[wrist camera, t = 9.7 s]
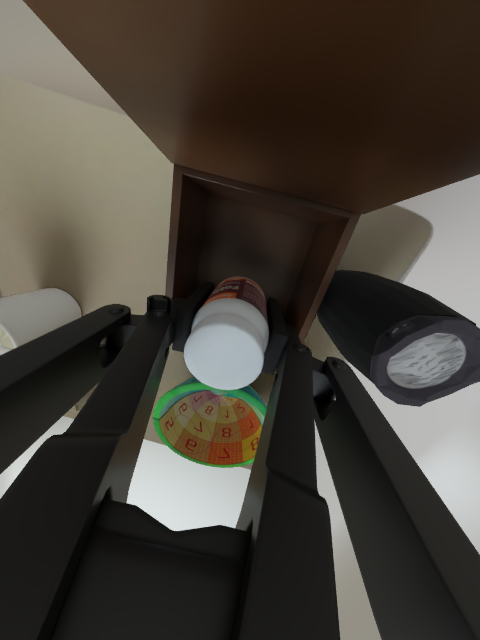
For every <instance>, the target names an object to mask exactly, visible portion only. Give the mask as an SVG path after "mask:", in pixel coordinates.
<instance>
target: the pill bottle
mask: <svg viewBox="0 0 480 640" xmlns="http://www.w3.org/2000/svg"><path fill="white" fill-rule="evenodd" d="M268 341H269V327H268V319H267V309H266V300H265V296H264V293H263V291H262V289H261V288H260V287H259V286H258V285H257V284H256V283H255V282H254V281H252V280H250V279H248V278H245V277H231V278H228V279H226V280H224V281H222V282H221V283H220V284H219V285H218V286H217V287H216V289H215V290H214V291H213V292H212V293H211V295H210V296H209V297H208V299H207V300H206V301H205V303H204V304H203V305H202V306H201V308H200V309H199V310H198V311H197V313H196V315H195V317H194V320H193V323H192V327H191V334H190V336H189V337H188V339H187V341H186V343H185V347H184V359H185V363H186V365H187V367H188V369H189V371H190V372H191V373H192V374H193V376H194V377H196V378H197V379H198V380H199V381H200V382H202V383H204V384H206V385H208V386H210V387H213V388H216V389H222V390H234V389H239V388H243V387H245V386H247V385H249V384H250V383H252V382H253V381H254V380H255V379H256V378H257V377H258V376H259V374H260V373H261V371H262V368H263V364H264V352H265V350H266V348H267V345H268Z"/></svg>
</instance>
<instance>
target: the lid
mask: <svg viewBox="0 0 480 640" xmlns="http://www.w3.org/2000/svg"><path fill="white" fill-rule="evenodd" d="M23 1H24V2H25V3H26V4H27V5H28V6H29V7H30V9H31V10H32V11H33V12H34V13H35V14H36V15H37V16H38V17H39V18H40V20H41V21H42V22H43V23H44V24H45V25H46V26H47V27H48V28H49V29H50V31H51V32H52V33H53V34H54V35H55V36H56V37H57V38H58V39H59V40H60V41H61V42H62V44H63V45H64V46H65V47H66V48H67V49H68V50H69V51H70V52H71V53H72V55H73V56H74V57H75V58H76V59H77V60H78V61H79V62H80V63H81V64H82V65H83V66H84V68H85V69H86V70H87V71H88V72H89V73H90V74H91V75H92V76H93V78H95V80H96V81H97V82H98V83H99V84H100V85H101V86H102V87H103V88H104V90H105V91H106V92H107V93H108V94H109V95H110V96H111V97H112V98H113V99H114V100H115V101H116V103H117V104H118V105H119V106H120V107H121V108H122V109H123V110H124V111H125V112H126V114H127V115H128V116H129V117H130V118H131V119H132V120H133V121H134V122H135V123H136V125H137V126H138V127H139V128H140V129H141V130H142V131H143V132H144V133H145V134H146V135H147V137H148V138H149V139H150V140H151V141H152V142H153V143H154V144H155V145H156V146H157V148H158V149H159V150H160V151H161V152H162V153H163V154H164V155H165V156H166V157H167V158H168V160H169V161H170V162H171V163H174V164H177V165H181V166H185V167H189V168H192V169H196V170H200V171H204V172H207V173H211V174H215V175H219V176H222V177H226V178H230V179H234V180H237V181H241V182H245V183H249V184H253V185H256V186H260V187H264V188H268V189H271V190H275V191H279V192H283V193H286V194H290V195H294V196H298V197H301V198H305V199H309V200H313V201H316V202H320V203H324V204H328V205H331V206H335V207H339V208H343V209H346V210H350V211H354V212H358V213H361V214H365V213H368V212H371V211H374V210H377V209H380V208H383V207H386V206H389V205H391V204H394V203H397V202H400V201H403V200H406V199H409V198H411V197H414V196H417V195H420V194H423V193H426V192H429V191H432V190H435V189H438V188H441V187H444V186H446V185H449V184H452V183H455V182H458V181H461V180H464V179H467V178H470V177H473V176H476V175H478V174H480V0H23Z"/></svg>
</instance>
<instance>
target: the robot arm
mask: <svg viewBox="0 0 480 640" xmlns="http://www.w3.org/2000/svg"><path fill="white" fill-rule="evenodd" d="M214 286H215V283H213V282H209V281H206V282H205V283H203V284H202V285H201V286H200V287H199V288H198V289H197V290H196V291H195V292H194V293H193V294H191V295H190V296H189V297H188V298H187V299H183V298H177V299H172V298H170V297H168V296H164V295H152V296H149V297H147V312H146V314H145V315H133V314H131V310H130V308H129V307H128V306H125V305H121V304H112V305H107V306H103V307H101V308H99V309H97V310H95V311H93V312H91V313H89V314H86V315H84V316H82V317H80V318H78V319H76V320H74V321H72V322H70V323H67V324H65V325H63V326H61V327H59V328H57V329H55V330H53V331H51V332H48V333H46V334H44V335H42V336H40V337H38V338H36V339H34V340H31V341H29V342H27V343H25V344H23V345H21V346H19V347H17V348H15V349H12V350H10V351H8V352H6V353H4V354H2V355H0V474H1V473H2V472H3V471H4V470H5V469H6V468H8V467H9V466H10V465H11V464H12V463H13V462H14V461H15V460H16V459H17V458H18V457H19V456H20V455H21V454H23V453H24V452H25V451H26V450H27V449H28V448H29V447H30V446H31V445H32V444H33V443H34V442H35V441H36V440H37V439H39V438H40V436H42V435H43V434H44V433H45V432H46V431H47V430H48V429H49V428H50V427H51V426H52V425H53V424H55V423H56V422H57V421H58V420H59V419H60V418H61V417H62V416H63V415H64V414H65V413H66V412H67V411H69V410H70V409H71V408H72V407H73V406H74V405H75V404H76V403H77V402H78V401H79V400H80V399H81V398H82V397H83V396H85V395H86V394H87V393H88V392H89V391H90V390H91V389H92V388H93V387H94V386H95V385H96V384H97V383H98V382H99V384H98V385H97V387H96V388H95V390H94V391H93V393H92V394H91V396H90V397H89V398H88V400H87V401H86V403H85V404H84V406H83V407H82V409H81V410H80V412H79V413H78V415H77V416H76V418H75V419H74V421H73V423H72V424H71V425H70V427H69V428H68V429H67V431H66V432H64V433H63V434H61V435H53V436H51V437H50V438H48V439H47V440H46V441H45V442H44V443H43V444H42V445H41V446H40V448H38V450H37V451H36V452H35V454H34V455H33V456H32V458H31V459H30V460H29V462H28V463H27V464H26V466H25V467H24V468H23V470H22V471H21V472H20V474H19V475H18V476H17V478H16V479H15V480H14V482H13V483H12V484H11V486H10V487H9V488H8V490H7V491H6V492H5V494H4V495H3V496H2V498H1V499H0V640H340V631H339V620H338V607H337V596H336V584H335V572H334V560H333V548H332V536H331V524H330V515H329V509H328V505H327V502H326V500H325V499H324V498H323V497H321V496H320V495H319V493H318V490H317V476H316V450H315V425H314V419H315V423H316V426H317V429H318V433H319V436H320V439H321V443H322V446H323V449H324V453H325V456H326V459H327V462H328V466H329V469H330V472H331V476H332V479H333V482H334V486H335V489H336V492H337V496H338V499H339V502H340V506H341V509H342V512H343V515H344V519H345V522H346V525H347V529H348V532H349V535H350V539H351V542H352V545H353V548H354V552H355V555H356V558H357V562H358V565H359V568H360V572H361V575H362V578H363V582H364V585H365V588H366V591H367V595H368V598H369V601H370V605H371V608H372V612H373V615H374V618H375V621H376V624H377V627H378V630H379V633H380V636H381V639H382V640H480V555H479V554H478V552H477V550H476V549H475V547H474V546H473V545H472V543H471V542H470V540H469V539H468V537H467V536H466V534H465V533H464V531H463V530H462V529H461V527H460V526H459V524H458V523H457V521H456V520H455V519H454V517H453V515H452V514H451V513H450V511H449V510H448V508H447V507H446V505H445V504H444V502H443V501H442V500H441V498H440V497H439V495H438V494H437V492H436V491H435V489H434V488H433V487H432V485H431V484H430V482H429V481H428V479H427V478H426V476H425V475H424V474H423V472H422V470H421V469H420V468H419V466H418V465H417V463H416V462H415V460H414V459H413V458H412V456H411V455H410V453H409V452H408V450H407V449H406V447H405V446H404V445H403V443H402V442H401V440H400V439H399V437H398V436H397V434H396V433H395V431H394V430H393V428H392V427H391V426H390V424H389V423H388V421H387V420H386V418H385V417H384V415H383V414H382V413H381V411H380V410H379V408H378V407H377V405H376V404H375V402H374V401H373V399H372V398H371V396H370V395H369V394H368V392H367V391H366V390H365V388H364V386H363V385H362V383H361V382H360V380H359V379H358V378H357V376H356V375H355V373H354V372H353V370H352V369H351V367H350V366H348V364H346V363H345V362H344V361H343V360H341V359H339V358H335V357H327V358H326V360H325V362H323V361H321V360H318V359H316V358H314V357H312V352H311V350H310V349H309V348H308V347H307V346H305V345H303V344H302V343H301V341H300V338H299V335H298V333H297V330H296V329H295V328H294V327H293V326H291V325H287V324H285V323H284V320H283V316H282V313H281V309H280V306H279V303H278V299H275V298H271V297H269V298H268V301H267V305H266V309H267V319H268V327H269V341H268V345H267V348H266V350H265V352H264V364H263V368H262V371H261V372H265V373H269V374H274V372H275V369H277V373H276V376H275V378H274V381H273V383H272V386H271V389H272V390H271V394H270V398H269V402H268V406H267V410H266V414H265V418H264V422H263V426H262V430H261V434H260V438H259V442H258V446H257V450H256V454H255V458H254V462H253V466H252V470H251V474H250V478H249V482H248V486H247V490H246V494H245V498H244V502H243V505H242V510H241V513H240V516H239V519H238V522H237V525H236V528H230V527H227V526H222V525H217V526H211V527H204V528H197V529H191V530H184V531H172V530H170V529H169V528H167V527H166V526H164V525H163V524H162V523H160V522H159V521H157V520H156V519H154V518H153V517H152V516H150V515H149V514H147V513H146V512H144V511H143V510H142V509H140V508H139V507H137V506H135V505H131V504H127V503H126V502H127V496H128V491H129V486H130V483H131V479H132V476H133V472H134V468H135V465H136V462H137V458H138V455H139V452H140V449H141V445H142V442H143V439H144V435H145V432H146V428H147V425H148V422H149V418H150V415H151V412H152V408H153V405H154V401H155V398H156V395H157V391H158V388H159V385H160V381H161V378H162V374H163V371H164V368H165V364H166V361H167V358H168V354H169V346H170V345H171V344H172V342H173V346H172V350H176V351H180V352H184V347H185V343H186V341H187V339H188V337H189V336H190V334H191V327H192V323H193V320H194V317H195V315H196V313H197V311H198V310H199V309H200V308H201V306H202V305H203V304H204V303H205V301H206V300H207V299H208V297H209V296H210V295H211V293H212V292H213V291H214ZM102 340H103V344H101V345H100V343H101V341H102ZM335 397H336V400H334V399H335Z"/></svg>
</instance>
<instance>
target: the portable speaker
mask: <svg viewBox="0 0 480 640" xmlns="http://www.w3.org/2000/svg"><path fill="white" fill-rule="evenodd" d="M317 316H318V318H319V321H320V323H321V325H322V326H323V328H324V329H325V331H326V332H327V333H328V335H329V336H330V338H331V339H332V341H333V342H334V344H335V345H336V347H337V348H338V350H339V351H340V353H341V354H342V355H343V356H344V357H345V358H346V360H347V361H348V362H350V363H351V364H352V365H353V366H354V367H355V368H356V369H358V370H359V371H360V372H361V373H362V374H363V375H364V376H366V377H367V378H368V379H369V380H370V381H371V382H373V383H374V384H375V386H376V387H377V388H378V389H379V390H380V392H381V393H382V394H383V395H384V396H386V397H387V398H389V399H391V400H392V401H394V402H395V403H397V404H403V405H410V406H419V407H420V406H422V405H423V404H425V403H427V402H430V401H433V400H436V399H438V398H441V397H444V396H447V395H449V394H452V393H454V392H456V391H458V390H460V389H462V388H465V387H467V386H469V385H471V384H474V383H477V382H480V329H479V328H478V327H477V326H476V324H475V323H474V322H472V321H470V320H469V319H467V318H466V317H464V316H462V315H461V314H459V313H458V312H456V311H454V310H453V309H451V308H449V307H448V306H446V305H444V304H443V303H441V302H440V301H438V300H436V299H435V298H433V297H432V296H430V295H428V294H426V293H423V292H421V291H419V290H416V289H414V288H411V287H409V286H406V285H404V284H402V283H399V282H396V281H393V280H390V279H387V278H384V277H381V276H378V275H374V274H370V273H367V272H359V271H350V270H339V271H335V273H334V275H333V278H332V280H331V282H330V284H329V286H328V289H327V291H326V293H325V295H324V298H323V300H322V302H321V304H320V306H319V309H318V311H317Z"/></svg>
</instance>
